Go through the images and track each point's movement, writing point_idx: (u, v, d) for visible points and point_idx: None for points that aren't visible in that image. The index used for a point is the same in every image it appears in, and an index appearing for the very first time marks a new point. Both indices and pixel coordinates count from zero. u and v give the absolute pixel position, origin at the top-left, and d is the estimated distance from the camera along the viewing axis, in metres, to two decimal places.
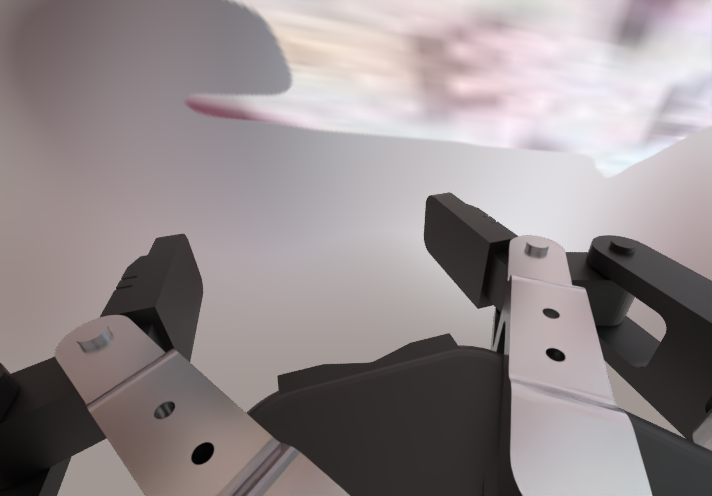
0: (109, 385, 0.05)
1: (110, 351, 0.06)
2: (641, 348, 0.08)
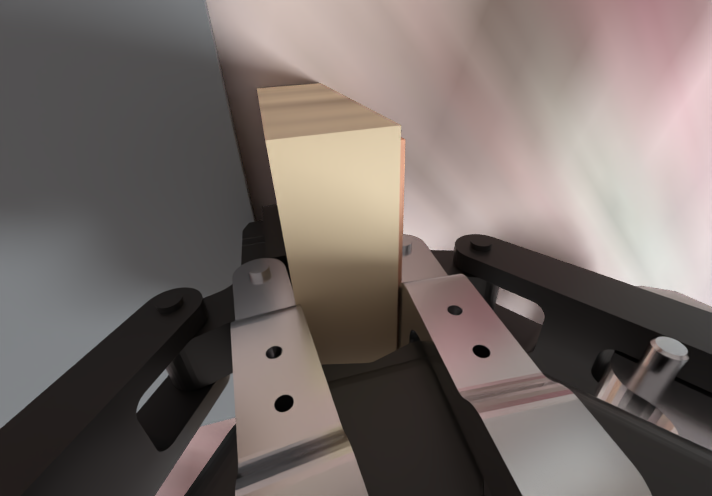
0: (253, 313, 0.07)
1: (263, 288, 0.07)
2: (518, 330, 0.08)
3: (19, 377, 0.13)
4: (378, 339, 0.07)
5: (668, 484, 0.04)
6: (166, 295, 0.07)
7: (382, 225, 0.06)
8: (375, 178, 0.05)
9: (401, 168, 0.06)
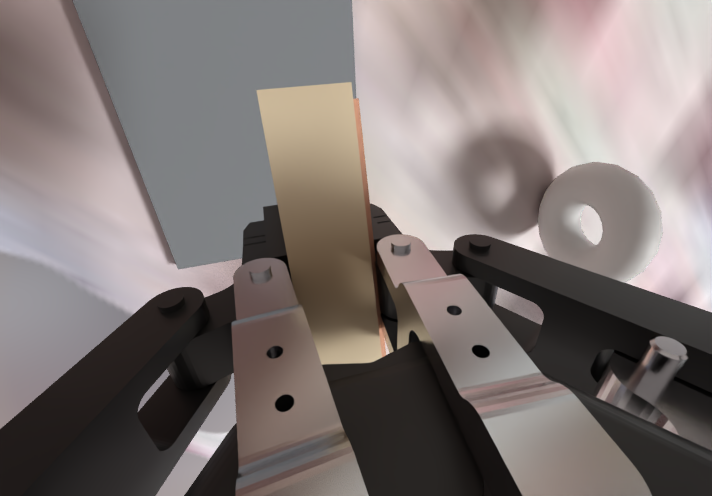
0: (254, 313, 0.07)
1: (264, 287, 0.07)
2: (517, 330, 0.08)
3: (223, 189, 0.23)
4: (356, 274, 0.08)
5: (668, 484, 0.04)
6: (167, 295, 0.07)
7: (347, 161, 0.08)
8: (337, 122, 0.07)
9: (358, 121, 0.08)
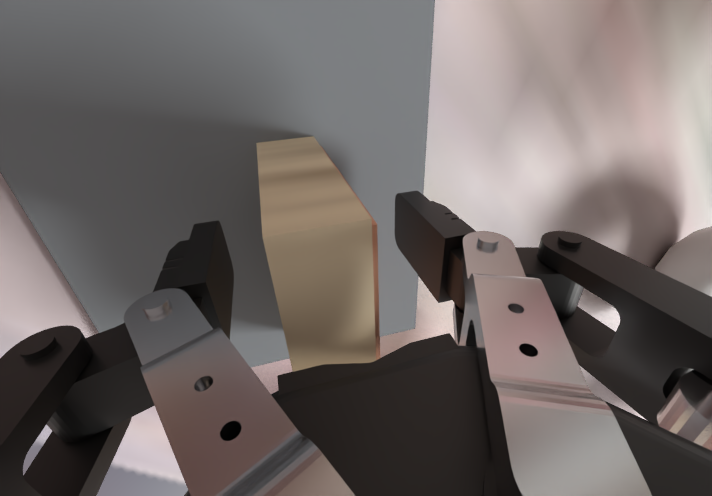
0: (163, 352, 0.06)
1: (167, 321, 0.06)
2: (595, 337, 0.08)
3: None
4: None
5: (676, 470, 0.04)
6: (31, 340, 0.06)
7: (359, 290, 0.07)
8: (352, 257, 0.07)
9: (375, 244, 0.07)
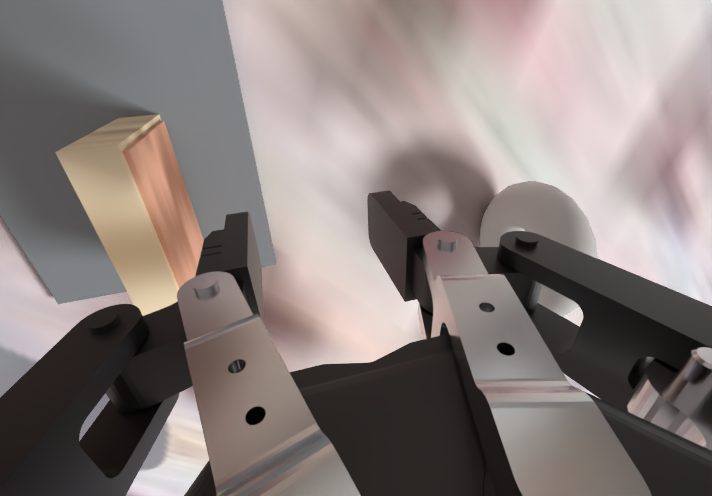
0: (206, 330, 0.06)
1: (213, 302, 0.07)
2: (558, 331, 0.08)
3: None
4: (148, 248, 0.15)
5: (671, 476, 0.04)
6: (99, 315, 0.07)
7: (126, 188, 0.13)
8: (113, 167, 0.13)
9: (132, 163, 0.13)
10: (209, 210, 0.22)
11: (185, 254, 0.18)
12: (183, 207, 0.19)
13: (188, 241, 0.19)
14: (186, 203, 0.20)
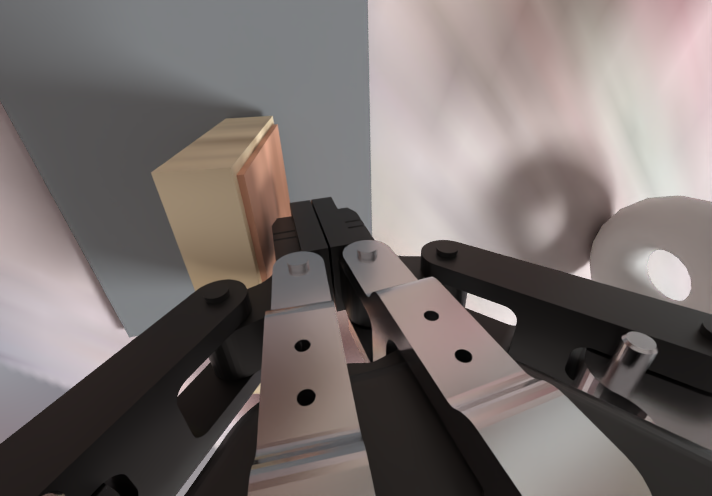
0: (288, 304, 0.07)
1: (300, 280, 0.07)
2: (489, 333, 0.08)
3: None
4: None
5: (668, 492, 0.04)
6: (213, 286, 0.07)
7: (233, 225, 0.09)
8: (221, 197, 0.09)
9: (246, 191, 0.09)
10: None
11: None
12: None
13: None
14: None
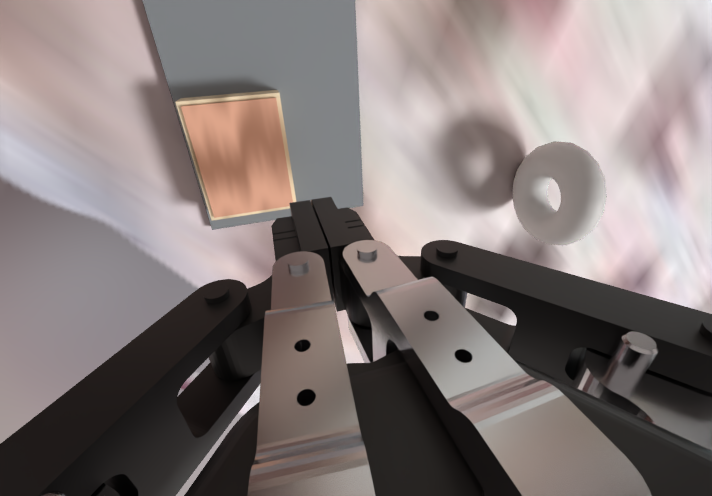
0: (288, 304, 0.07)
1: (300, 280, 0.07)
2: (489, 333, 0.08)
3: None
4: None
5: (668, 492, 0.04)
6: (213, 286, 0.07)
7: None
8: None
9: (183, 114, 0.23)
10: (324, 160, 0.30)
11: (232, 184, 0.26)
12: (260, 160, 0.26)
13: (248, 181, 0.27)
14: (271, 160, 0.26)
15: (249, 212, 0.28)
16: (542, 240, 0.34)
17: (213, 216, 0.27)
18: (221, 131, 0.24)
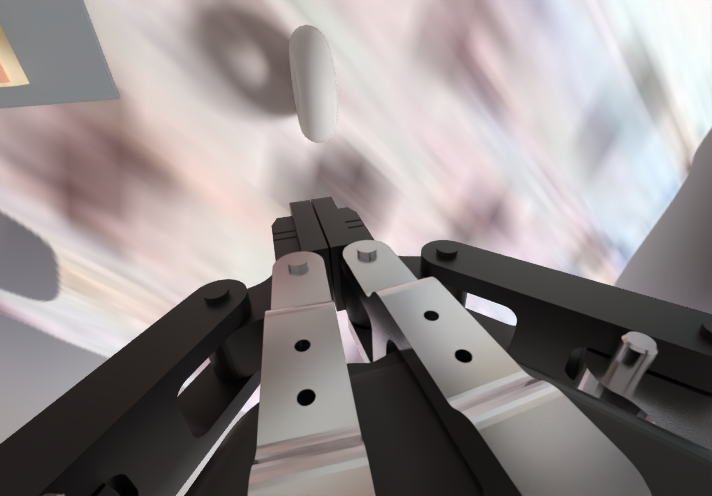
0: (288, 304, 0.07)
1: (300, 280, 0.07)
2: (489, 333, 0.08)
3: None
4: None
5: (668, 492, 0.04)
6: (213, 286, 0.07)
7: None
8: None
9: None
10: (51, 40, 0.29)
11: None
12: None
13: None
14: None
15: None
16: (307, 137, 0.33)
17: None
18: None
